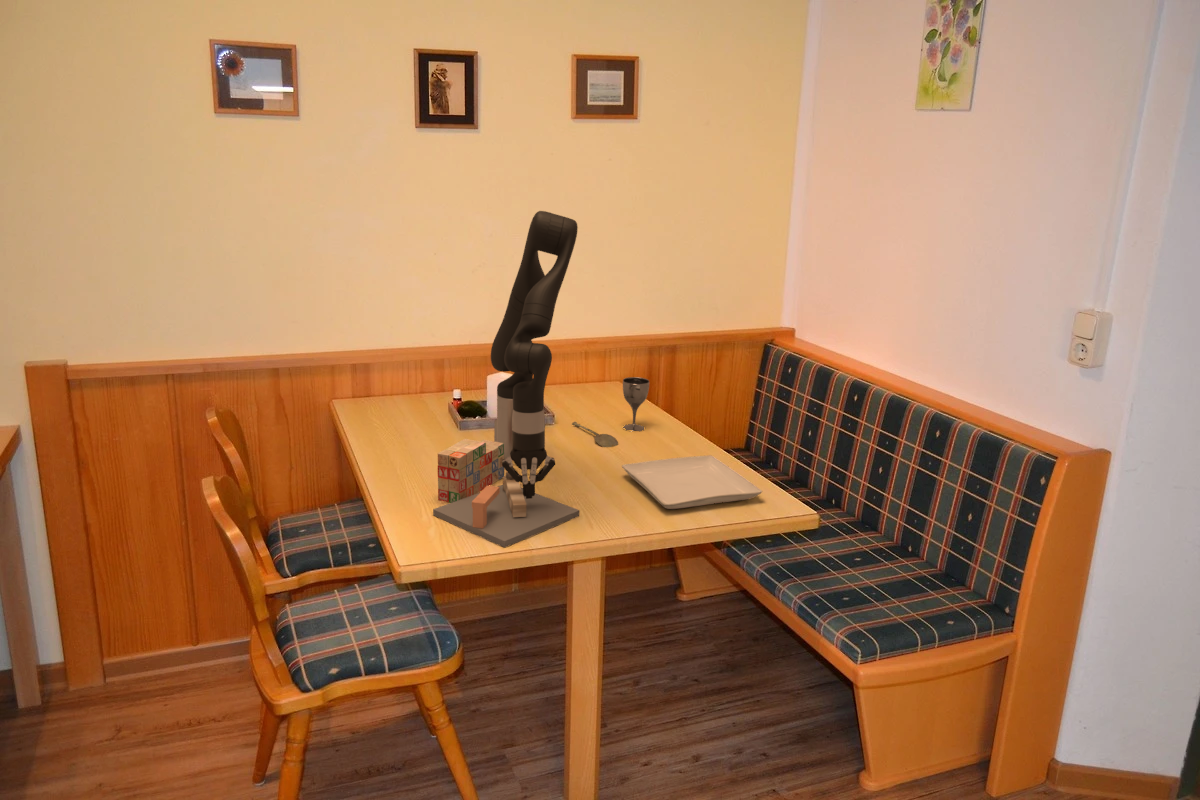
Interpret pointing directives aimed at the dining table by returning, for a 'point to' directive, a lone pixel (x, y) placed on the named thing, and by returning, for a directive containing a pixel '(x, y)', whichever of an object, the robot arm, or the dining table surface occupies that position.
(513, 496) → the arm link
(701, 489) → the square plate
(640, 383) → the wine glass
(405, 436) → the dining table surface
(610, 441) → the soupspoon
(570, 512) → the board
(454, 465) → the stack of blocks
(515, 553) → the dining table surface
